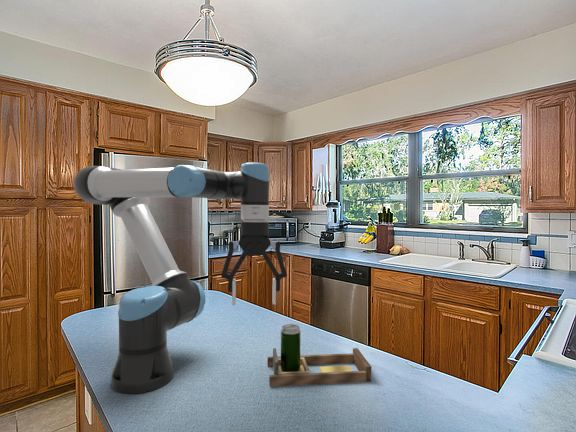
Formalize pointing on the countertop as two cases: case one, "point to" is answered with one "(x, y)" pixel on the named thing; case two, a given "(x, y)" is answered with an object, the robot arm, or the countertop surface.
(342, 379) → the tray
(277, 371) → the wooden square tray
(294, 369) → the beer can
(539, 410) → the countertop surface
